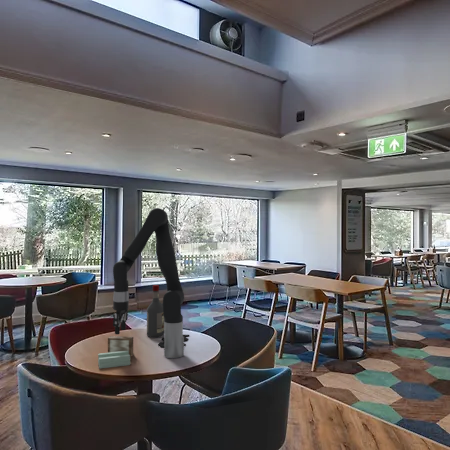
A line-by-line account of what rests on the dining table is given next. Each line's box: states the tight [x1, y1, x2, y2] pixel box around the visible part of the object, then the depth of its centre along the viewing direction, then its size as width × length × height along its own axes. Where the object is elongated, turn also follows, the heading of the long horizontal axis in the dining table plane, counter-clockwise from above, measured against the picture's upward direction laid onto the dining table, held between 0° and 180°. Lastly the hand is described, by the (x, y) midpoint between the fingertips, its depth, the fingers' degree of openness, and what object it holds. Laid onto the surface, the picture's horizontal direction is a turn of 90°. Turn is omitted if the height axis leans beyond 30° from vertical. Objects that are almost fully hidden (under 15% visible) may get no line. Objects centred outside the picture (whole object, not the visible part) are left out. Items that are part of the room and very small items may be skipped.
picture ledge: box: [97, 351, 131, 370], centre depth 181 cm, size 14×10×4 cm
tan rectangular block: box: [107, 335, 134, 358], centre depth 193 cm, size 12×4×9 cm, turn 86°
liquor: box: [146, 284, 164, 339], centre depth 228 cm, size 9×9×30 cm
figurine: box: [157, 334, 190, 349], centre depth 214 cm, size 16×1×30 cm
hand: (120, 331), depth 193 cm, fingers open, 8 cm apart
